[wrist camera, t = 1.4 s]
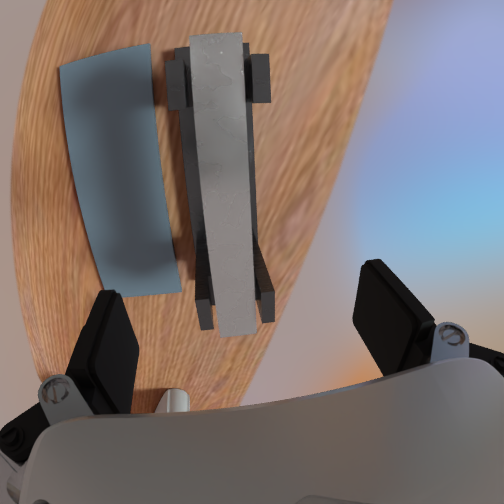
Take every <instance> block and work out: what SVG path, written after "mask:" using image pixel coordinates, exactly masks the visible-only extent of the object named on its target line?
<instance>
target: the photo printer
mask: <svg viewBox="0 0 504 504" xmlns="http://www.w3.org/2000/svg"><path fill="white" fill-rule="evenodd" d="M186 411H190V399H189V394H187V393H186V392H185V391H183V390H181V389H176V388H173V389H170V390H169V389H168V390H167V391H166V392H165V393H164V395H163V397H162V398H161V400H160V402H159V404H158V406H157V408H156V410H155V413H168V412H186Z"/></svg>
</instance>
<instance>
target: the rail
mask: <svg viewBox="0 0 504 504" xmlns="http://www.w3.org/2000/svg"><path fill="white" fill-rule="evenodd" d="M189 40H190V60H191V77H192V92H193V106H194V119H195V131H196V143H197V154H198V164H199V174H200V184H201V194H202V203H203V212H204V221H205V229H206V237H207V245H208V253H209V261H210V269H211V276H212V284H213V291H214V298H215V305H216V312H217V318H218V325H219V331H220V338H222V337H231V336H239V335H247V334H255V333H257V328H256V308H255V287H254V266H253V245H252V225H251V204H250V184H249V163H248V143H247V123H246V103H245V82H244V62H243V42H242V32H237V33H217V34H204V35H193V36H189Z"/></svg>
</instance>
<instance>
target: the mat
mask: <svg viewBox="0 0 504 504" xmlns="http://www.w3.org/2000/svg"><path fill="white" fill-rule="evenodd" d="M60 82H61V94H62V105H63V114H64V122H65V129H66V136H67V143H68V149H69V155H70V161H71V166H72V171H73V176H74V181H75V186H76V191H77V195H78V200H79V204H80V208H81V212H82V216H83V220H84V224H85V228H86V231H87V235H88V238H89V242H90V245H91V249H92V252H93V256H94V259H95V262H96V265H97V268H98V271H99V275H100V278H101V281H102V283H103V286H104V289H105V290H111V289H114V290H115V291H116V293H120V294H121V296H122V297H134V296H145V295H156V294H166V293H177V292H182V288H181V283H180V278H179V273H178V268H177V262H176V257H175V252H174V246H173V241H172V235H171V229H170V223H169V217H168V211H167V204H166V198H165V191H164V184H163V177H162V169H161V162H160V154H159V145H158V137H157V127H156V117H155V107H154V95H153V82H152V68H151V50H150V44H143V45H138V46H133V47H128V48H124V49H119V50H115V51H111V52H107V53H103V54H99V55H95V56H91V57H88V58H84V59H81V60H78V61H74V62H71V63H68V64H65V65H62V66H60Z"/></svg>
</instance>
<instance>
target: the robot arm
mask: <svg viewBox="0 0 504 504" xmlns="http://www.w3.org/2000/svg"><path fill="white" fill-rule="evenodd" d="M434 320H435V319H434V318H433V316H432V315H431V314H430V313H429V312H428V311H427V309H426V308H425V307H424V306H423V305H422V304H421V303H420V301H419V300H418V299H417V298H416V297H415V296H414V295H413V294H412V292H411V291H410V290H409V289H408V288H407V287H406V286H405V285H404V284H403V283H402V281H401V280H400V279H399V278H398V277H397V276H396V275H395V274H394V273H393V272H392V271H391V270H390V269H389V268H388V267H387V265H386V264H384V262H383V261H382V260H381V259H374V260H367V261H366V262H365V264H364V265H362V266H361V271H360V277H359V284H358V290H357V296H356V301H355V307H354V312H353V324H354V326H355V328H356V329H357V331H358V333H359V334H360V336H361V338H362V340H363V341H364V343H365V345H366V346H367V348H368V350H369V352H370V353H371V355H372V357H373V359H374V360H375V362H376V364H377V366H378V367H379V369H380V371H381V373H382V374H383V376H384V377H381V378H377V379H374V380H370V381H366V382H363V383H359V384H355V385H351V386H347V387H343V388H339V389H335V390H330V391H326V392H321V393H317V394H312V395H307V396H302V397H296V398H291V399H285V400H280V401H274V402H268V403H261V404H254V405H247V406H239V407H230V408H221V409H211V410H200V411H186V412H168V413H143V414H130V411H131V403H132V396H133V389H134V382H135V376H136V369H137V363H138V357H139V345H138V342H137V339H136V336H135V334H134V331H133V328H132V325H131V323H130V320H129V317H128V314H127V311H126V308H125V305H124V302H123V299H122V296H121V294H120V293H116V291H115V290H114V289H111V290H101V291H100V292H99V293H98V296H97V298H96V300H95V303H94V305H93V307H92V310H91V312H90V314H89V317H88V319H87V322H86V324H85V326H83V328H82V330H81V333H80V335H79V338H78V340H77V343H76V345H75V348H74V351H73V353H72V356H71V359H70V362H69V364H68V367H67V370H66V373H65V375H62V374H58V375H53V376H51V377H49V378H48V379H46V380H45V381H44V382H43V383H42V384H41V386H40V388H39V390H38V398H39V403H37V404H35V405H34V406H33V407H31V408H30V409H28V410H27V411H25V412H24V413H22V414H21V415H19V416H18V417H17V418H15V419H14V420H12V421H10V422H9V423H7V424H6V425H5V426H4V427H3V428H2V429H1V431H0V504H504V354H503V353H501V352H498V351H494V350H491V349H488V348H485V347H482V346H478V345H475V344H472V343H469V336H468V334H467V332H466V331H465V329H464V328H462V327H461V326H459V325H457V324H455V323H452V322H443V323H440V324H439V325H437V326H436V324H435V323H434Z"/></svg>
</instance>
